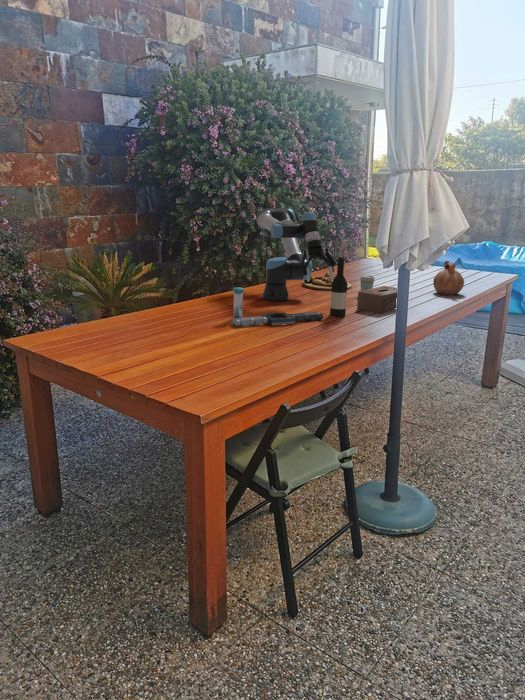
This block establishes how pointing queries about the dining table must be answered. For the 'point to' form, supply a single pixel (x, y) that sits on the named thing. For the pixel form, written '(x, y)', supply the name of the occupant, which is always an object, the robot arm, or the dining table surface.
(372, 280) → the coffee cup
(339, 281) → the wine bottle
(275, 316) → the chain ends
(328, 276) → the wooden plate with food
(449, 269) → the jug
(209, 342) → the dining table surface
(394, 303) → the tissue box cover
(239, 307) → the steel pin
